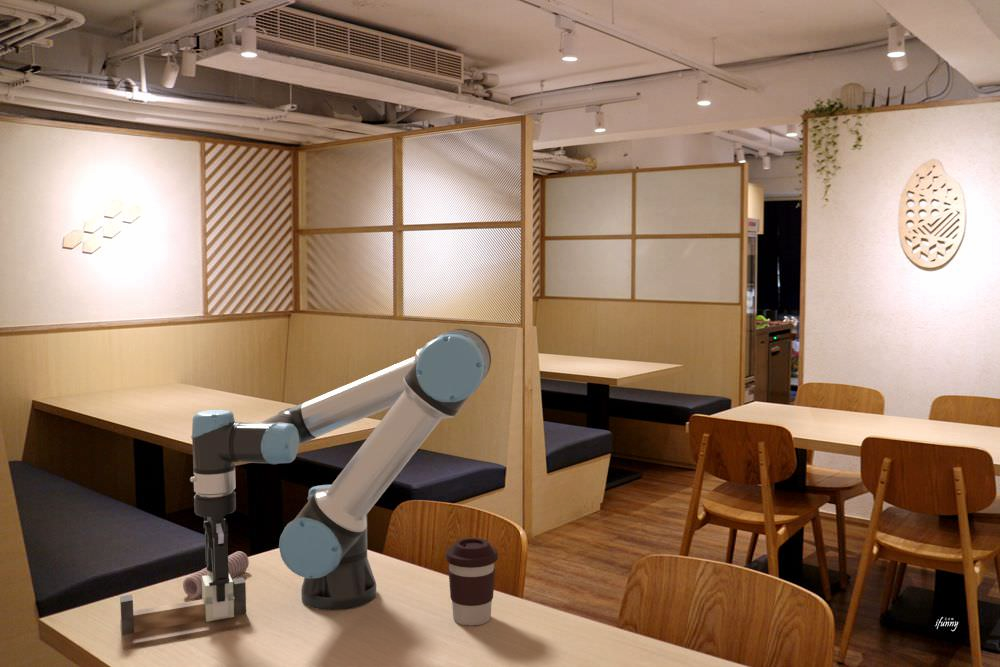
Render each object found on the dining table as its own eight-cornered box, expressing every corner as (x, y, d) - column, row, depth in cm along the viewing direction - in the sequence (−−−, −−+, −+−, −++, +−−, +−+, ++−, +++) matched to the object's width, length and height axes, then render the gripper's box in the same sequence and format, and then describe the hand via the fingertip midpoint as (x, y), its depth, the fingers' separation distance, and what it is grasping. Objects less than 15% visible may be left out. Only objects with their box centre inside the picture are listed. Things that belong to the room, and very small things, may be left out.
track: (239, 603, 173) (239, 569, 173) (250, 626, 163) (249, 590, 162) (120, 623, 164) (119, 588, 163) (123, 649, 153) (122, 611, 152)
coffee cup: (508, 618, 166) (508, 542, 165) (471, 634, 159) (471, 555, 158) (471, 604, 173) (471, 531, 172) (435, 619, 166) (435, 543, 165)
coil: (199, 580, 174) (252, 552, 191) (180, 575, 176) (234, 548, 193) (197, 602, 175) (250, 572, 192) (179, 597, 177) (233, 567, 193)
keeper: (229, 606, 169) (228, 572, 169) (233, 616, 164) (233, 581, 164) (202, 610, 167) (201, 576, 166) (206, 621, 162) (205, 586, 161)
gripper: (188, 482, 170) (191, 596, 172) (200, 507, 154) (203, 632, 156) (227, 478, 174) (230, 590, 176) (243, 502, 157) (246, 625, 159)
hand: (218, 610), depth 166 cm, fingers closed on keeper, 6 cm apart
